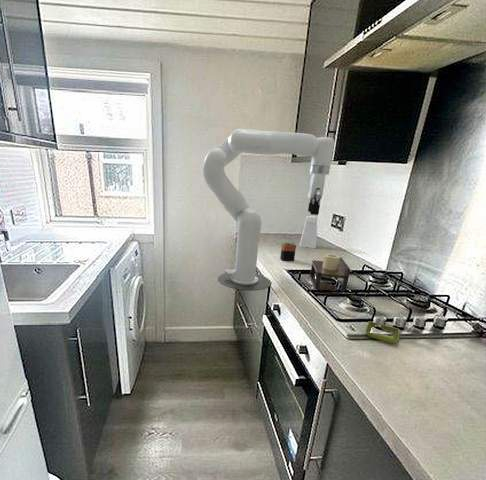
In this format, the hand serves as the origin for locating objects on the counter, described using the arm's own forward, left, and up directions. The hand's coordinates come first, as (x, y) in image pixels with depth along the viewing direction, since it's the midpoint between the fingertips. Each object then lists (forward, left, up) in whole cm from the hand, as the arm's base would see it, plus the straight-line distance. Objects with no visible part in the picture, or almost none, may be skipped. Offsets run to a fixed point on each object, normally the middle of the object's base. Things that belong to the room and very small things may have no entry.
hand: (312, 213), depth 128 cm
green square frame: (+20, -46, -31) cm, 59 cm away
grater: (+9, +76, -31) cm, 82 cm away
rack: (+10, -3, -30) cm, 32 cm away
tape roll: (+10, -4, -22) cm, 25 cm away
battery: (-6, +33, -31) cm, 45 cm away
